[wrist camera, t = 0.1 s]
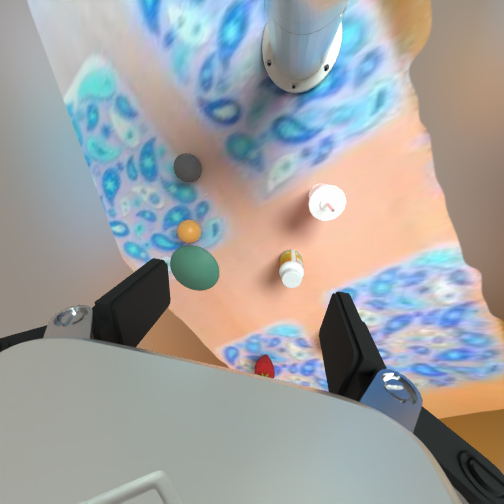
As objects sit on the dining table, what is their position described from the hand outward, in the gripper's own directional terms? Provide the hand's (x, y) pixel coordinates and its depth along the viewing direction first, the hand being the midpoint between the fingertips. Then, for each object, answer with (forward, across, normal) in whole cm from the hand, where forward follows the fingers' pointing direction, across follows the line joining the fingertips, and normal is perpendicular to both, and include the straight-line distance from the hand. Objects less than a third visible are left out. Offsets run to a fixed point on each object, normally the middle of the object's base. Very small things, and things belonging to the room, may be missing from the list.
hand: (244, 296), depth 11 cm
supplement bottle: (+37, -6, +15) cm, 40 cm away
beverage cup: (+37, -9, -1) cm, 38 cm away
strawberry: (+37, -5, +51) cm, 63 cm away
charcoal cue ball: (+34, +19, -3) cm, 39 cm away
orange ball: (+34, +19, +11) cm, 40 cm away
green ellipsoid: (+37, +19, +23) cm, 47 cm away
